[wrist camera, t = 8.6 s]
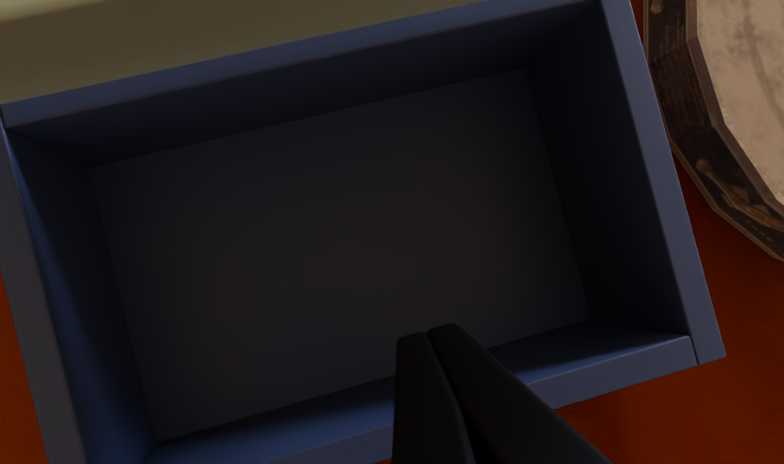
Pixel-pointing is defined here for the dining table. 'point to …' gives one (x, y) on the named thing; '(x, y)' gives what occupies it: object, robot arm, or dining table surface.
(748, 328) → the dining table surface
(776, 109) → the tin can
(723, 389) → the dining table surface
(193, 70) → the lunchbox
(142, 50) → the lunchbox lid
